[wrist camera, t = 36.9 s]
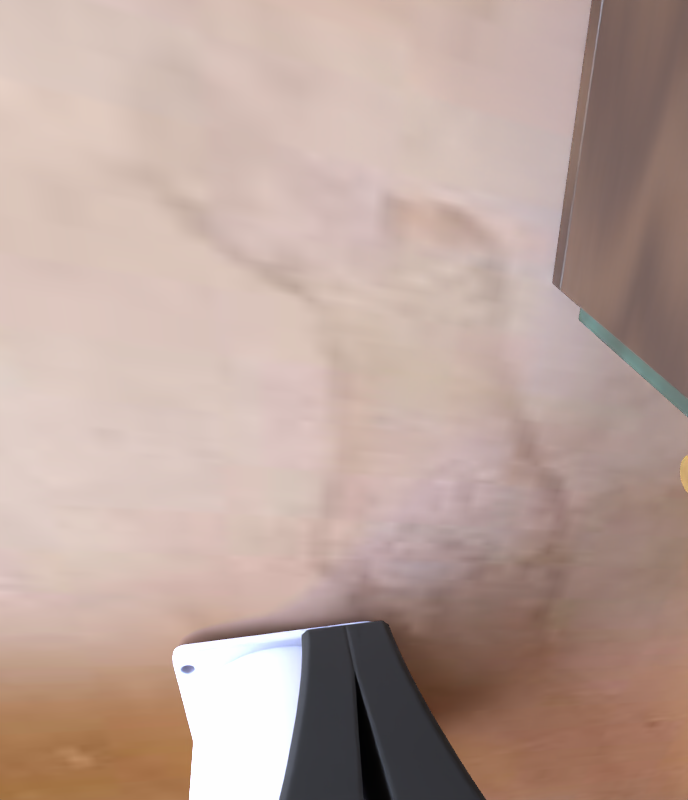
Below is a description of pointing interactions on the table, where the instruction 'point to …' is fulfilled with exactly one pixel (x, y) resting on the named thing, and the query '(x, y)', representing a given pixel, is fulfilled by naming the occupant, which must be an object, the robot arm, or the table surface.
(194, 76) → the table surface
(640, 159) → the cabinet
